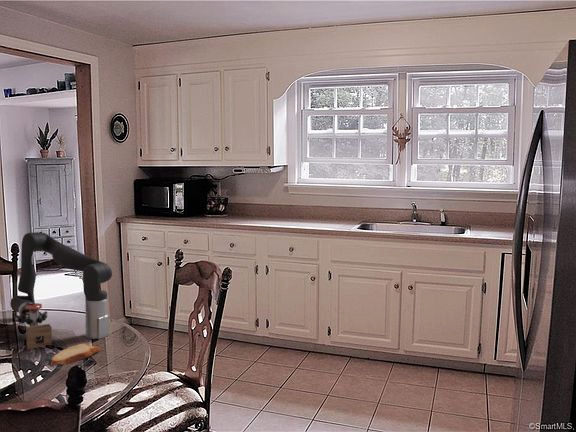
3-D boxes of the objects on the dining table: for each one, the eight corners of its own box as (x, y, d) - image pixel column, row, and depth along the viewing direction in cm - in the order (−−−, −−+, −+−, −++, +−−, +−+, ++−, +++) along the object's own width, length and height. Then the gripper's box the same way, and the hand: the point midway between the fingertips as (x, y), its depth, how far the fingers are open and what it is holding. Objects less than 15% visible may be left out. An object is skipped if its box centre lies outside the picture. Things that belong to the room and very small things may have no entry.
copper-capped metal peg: (25, 335, 230) (24, 304, 228) (40, 333, 233) (40, 302, 232) (30, 345, 219) (29, 312, 217) (46, 343, 222) (46, 310, 221)
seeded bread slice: (48, 368, 199) (48, 358, 198) (54, 351, 216) (54, 342, 216) (98, 364, 204) (98, 355, 204) (100, 348, 221) (100, 339, 221)
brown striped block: (26, 345, 219) (26, 327, 218) (49, 342, 224) (49, 323, 224) (28, 349, 215) (27, 330, 214) (51, 345, 220) (51, 327, 219)
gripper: (11, 305, 235) (17, 316, 221) (44, 301, 243) (52, 311, 229) (11, 321, 236) (17, 333, 222) (45, 317, 244) (52, 327, 230)
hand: (35, 322), depth 226 cm, fingers closed on copper-capped metal peg, 3 cm apart
